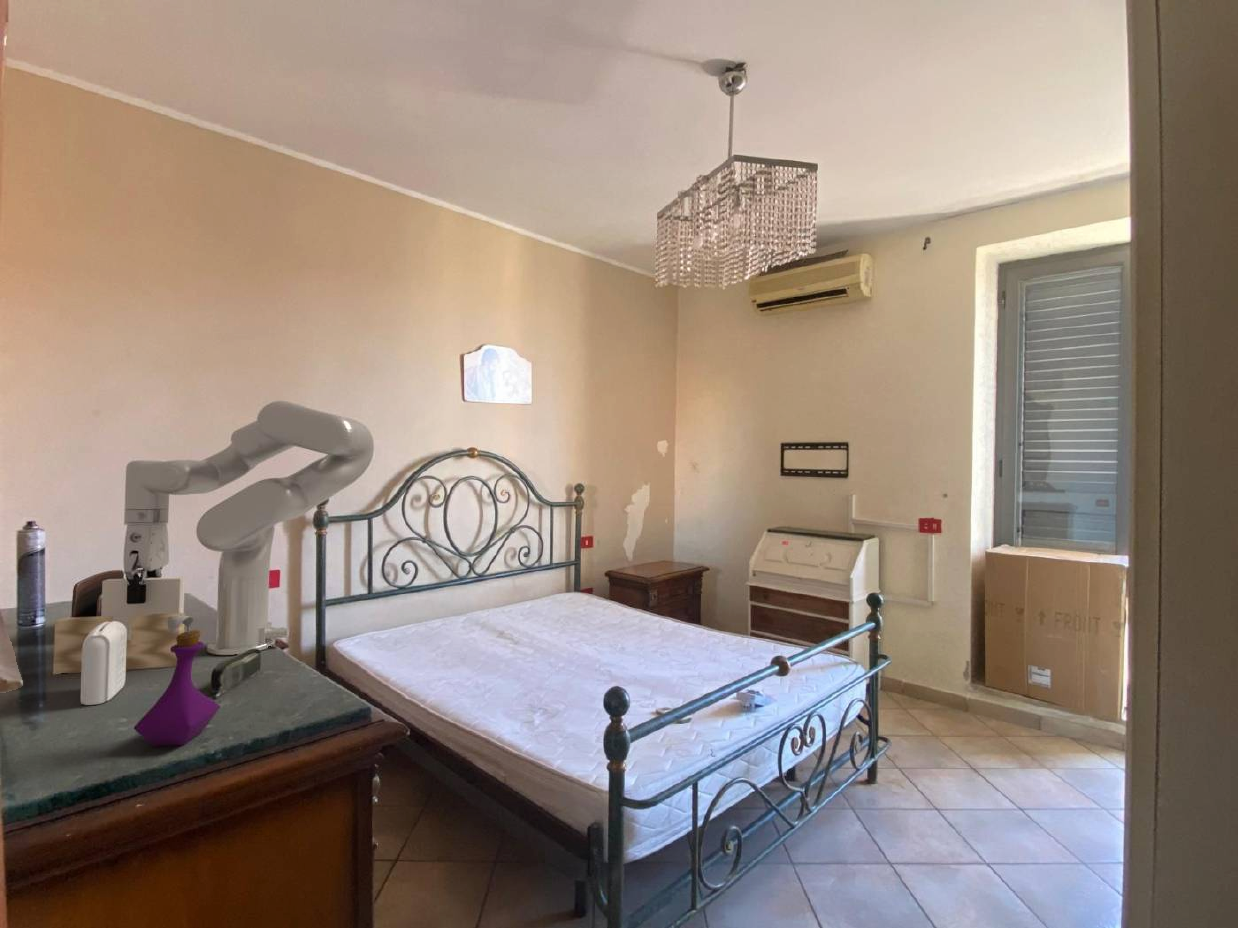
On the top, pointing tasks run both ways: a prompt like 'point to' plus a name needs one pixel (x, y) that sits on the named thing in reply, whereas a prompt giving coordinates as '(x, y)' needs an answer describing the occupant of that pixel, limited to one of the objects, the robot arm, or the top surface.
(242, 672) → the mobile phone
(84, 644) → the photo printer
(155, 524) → the robot arm
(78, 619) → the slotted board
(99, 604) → the letter holder
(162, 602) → the cream angled block
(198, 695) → the perfume bottle
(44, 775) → the top surface
